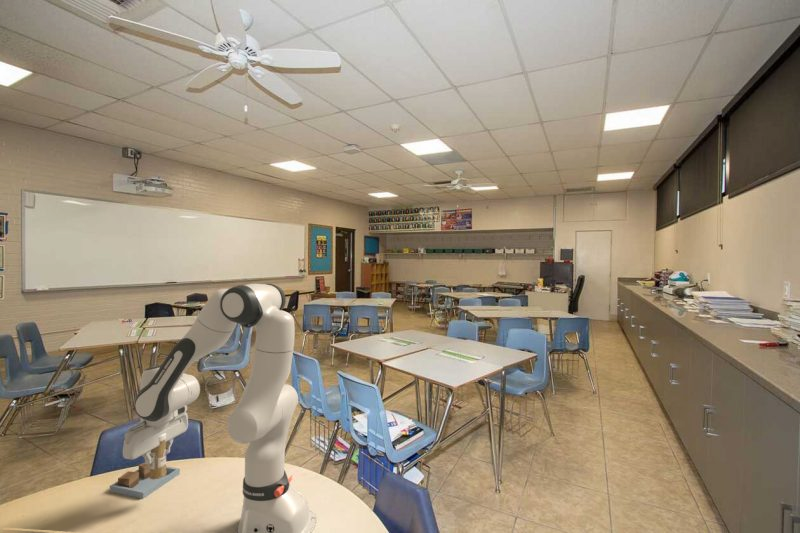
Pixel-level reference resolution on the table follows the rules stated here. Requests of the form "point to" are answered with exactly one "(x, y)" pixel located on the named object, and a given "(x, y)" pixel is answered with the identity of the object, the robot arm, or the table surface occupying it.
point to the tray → (146, 484)
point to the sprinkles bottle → (158, 459)
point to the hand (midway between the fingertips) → (158, 458)
